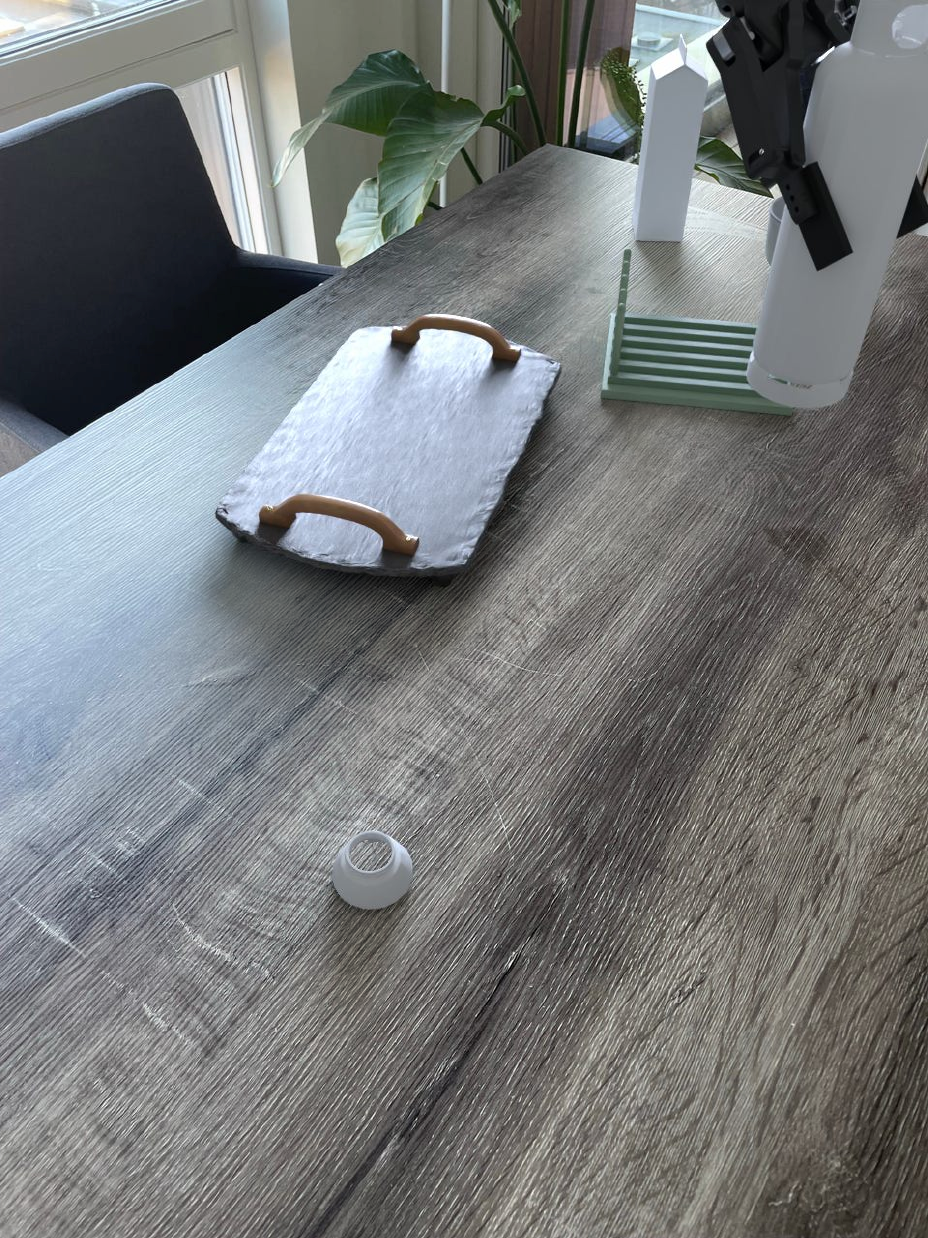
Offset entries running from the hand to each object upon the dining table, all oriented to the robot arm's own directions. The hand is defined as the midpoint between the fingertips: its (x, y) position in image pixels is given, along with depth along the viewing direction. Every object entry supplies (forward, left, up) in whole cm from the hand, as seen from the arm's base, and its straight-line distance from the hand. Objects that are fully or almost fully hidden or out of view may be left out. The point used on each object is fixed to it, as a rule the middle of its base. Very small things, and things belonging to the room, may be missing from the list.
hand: (875, 244), depth 70 cm
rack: (+8, -24, -25) cm, 36 cm away
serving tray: (+35, -3, -25) cm, 44 cm away
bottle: (+2, -2, -13) cm, 13 cm away
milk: (+13, -56, -25) cm, 63 cm away
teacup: (-5, -49, -25) cm, 56 cm away
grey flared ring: (+28, +41, -25) cm, 56 cm away
